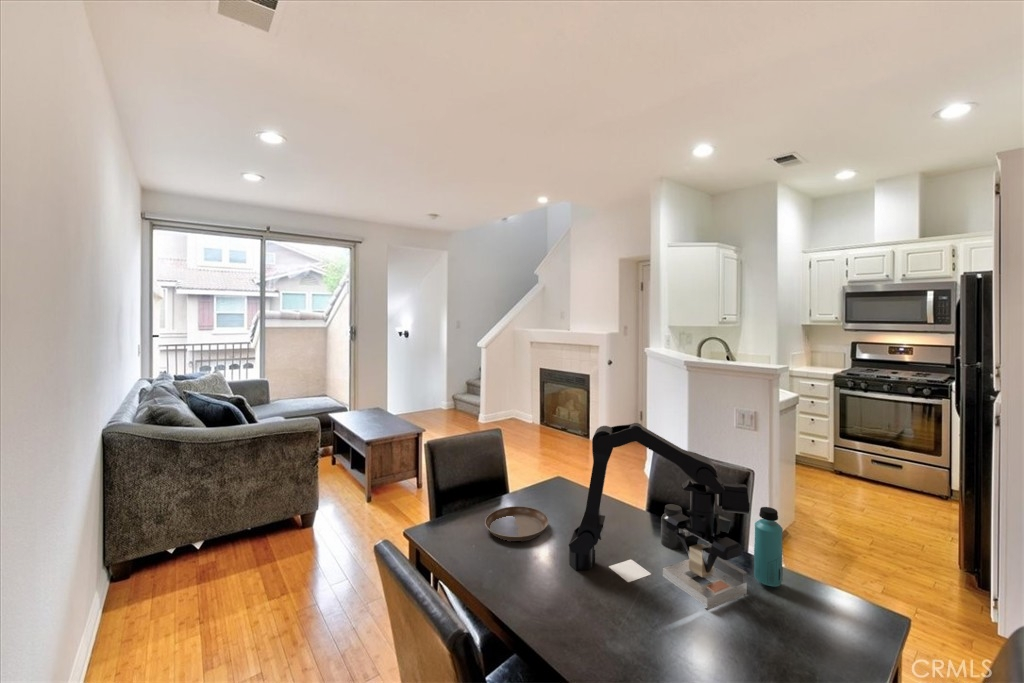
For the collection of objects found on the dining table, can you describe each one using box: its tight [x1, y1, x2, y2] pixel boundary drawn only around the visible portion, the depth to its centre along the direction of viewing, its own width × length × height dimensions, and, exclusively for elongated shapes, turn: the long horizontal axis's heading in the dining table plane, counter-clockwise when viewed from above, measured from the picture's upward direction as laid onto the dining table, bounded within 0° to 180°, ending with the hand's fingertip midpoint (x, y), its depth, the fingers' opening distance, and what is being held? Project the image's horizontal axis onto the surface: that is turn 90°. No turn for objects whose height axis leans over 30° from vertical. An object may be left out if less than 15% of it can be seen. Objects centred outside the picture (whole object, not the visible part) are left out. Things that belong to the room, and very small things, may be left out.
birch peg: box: [688, 542, 713, 578], centre depth 113 cm, size 4×4×6 cm
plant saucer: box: [484, 505, 549, 542], centre depth 144 cm, size 21×21×3 cm
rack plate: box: [662, 557, 748, 611], centre depth 113 cm, size 14×14×6 cm
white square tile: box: [608, 559, 652, 583], centre depth 119 cm, size 8×8×1 cm
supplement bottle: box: [660, 503, 685, 551], centre depth 133 cm, size 7×7×12 cm
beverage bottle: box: [752, 506, 784, 587], centre depth 113 cm, size 6×7×20 cm
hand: (701, 567), depth 113 cm, fingers closed on birch peg, 4 cm apart
